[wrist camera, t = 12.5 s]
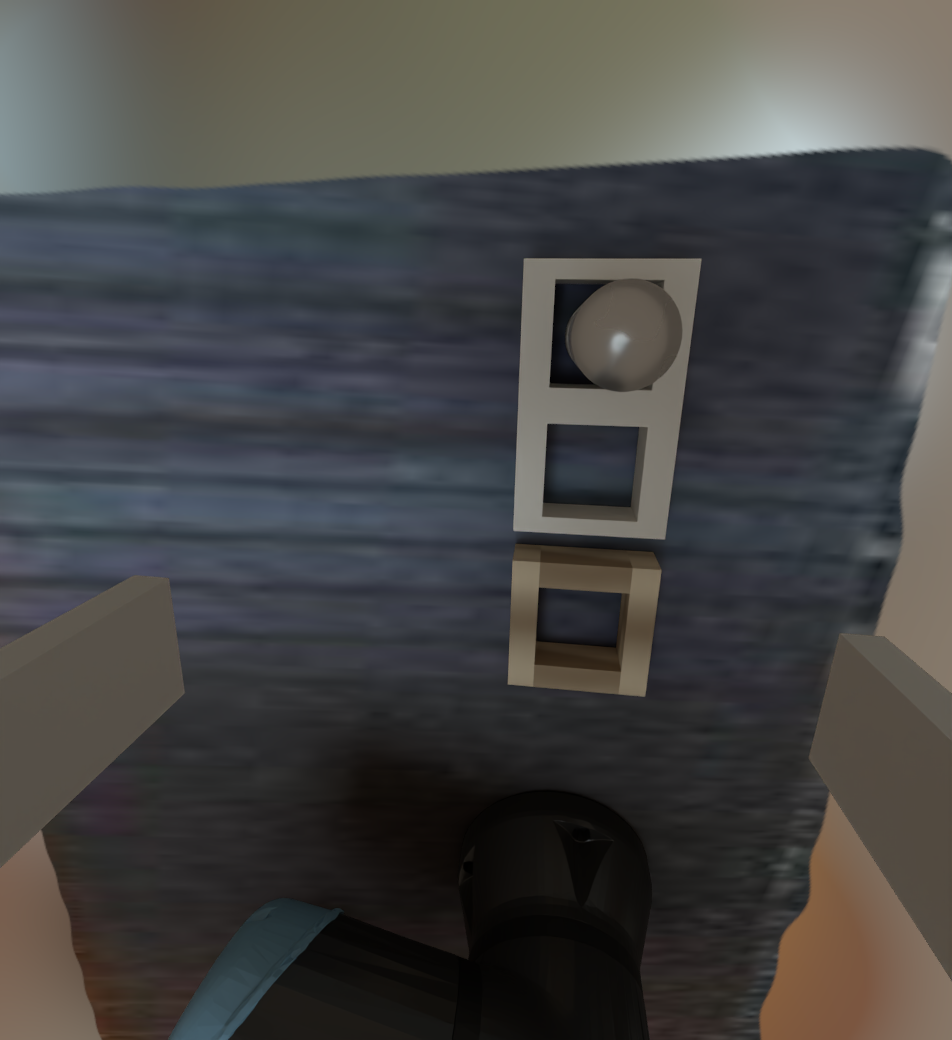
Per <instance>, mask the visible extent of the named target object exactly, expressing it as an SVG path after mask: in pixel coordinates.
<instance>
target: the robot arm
mask: <svg viewBox="0 0 952 1040" xmlns="http://www.w3.org/2000/svg"><path fill="white" fill-rule="evenodd" d="M184 693H185V692H184V685H183V677H182V670H181V663H180V656H179V648H178V641H177V634H176V627H175V620H174V612H173V605H172V598H171V591H170V583H169V578H161V577H149V576H137V575H134V576H132V577H130V578H129V579H127V580H125V581H123V582H121V583H120V584H118V585H116V586H114V587H112V588H110V589H109V590H107V591H105V592H103V593H101V594H99V595H98V596H96V597H94V598H92V599H90V600H88V601H87V602H85V603H83V604H81V605H79V606H77V607H76V608H74V609H72V610H70V611H68V612H66V613H65V614H63V615H61V616H59V617H57V618H55V619H54V620H52V621H50V622H48V623H46V624H44V625H43V626H41V627H39V628H37V629H35V630H33V631H32V632H30V633H28V634H26V635H24V636H22V637H21V638H19V639H17V640H15V641H13V642H12V643H10V644H8V645H6V646H4V647H2V648H1V649H0V868H1V867H2V866H3V865H4V864H5V863H6V862H7V861H8V860H9V859H10V858H11V857H12V856H13V855H14V854H16V852H17V851H19V850H20V849H21V848H22V847H23V845H25V844H26V843H27V842H28V841H29V840H30V839H31V838H32V837H33V836H34V835H36V834H37V833H38V832H39V831H40V830H41V829H42V828H43V827H44V826H45V825H46V824H47V823H48V822H49V821H50V820H51V819H52V818H54V817H55V816H56V815H57V814H58V813H59V812H60V811H61V810H62V809H63V808H64V807H65V806H66V805H67V804H68V803H69V802H70V801H71V800H72V799H74V798H75V797H76V796H77V795H78V794H79V793H80V792H81V791H82V790H83V789H84V788H85V787H86V786H87V785H88V784H89V783H90V782H91V781H93V780H94V779H95V778H96V777H97V776H98V775H99V774H100V773H101V772H102V771H103V770H104V769H105V768H106V767H107V766H108V765H109V764H110V763H112V762H113V761H114V760H115V759H116V758H117V757H118V756H119V755H120V754H121V753H122V752H123V751H124V750H125V749H126V748H127V747H128V746H129V745H131V744H132V743H133V742H134V741H135V740H136V739H137V738H138V737H139V736H140V735H141V734H142V733H143V732H144V731H145V730H146V729H147V728H148V727H150V726H151V725H152V724H153V723H154V722H155V721H156V720H157V719H158V718H159V717H160V716H161V715H162V714H163V713H164V712H165V711H166V710H167V709H169V708H170V707H171V706H172V705H173V704H174V703H175V702H176V701H177V700H178V699H179V698H180V697H181V696H182V695H183V694H184ZM809 760H810V761H811V763H812V764H813V766H814V767H815V769H816V770H817V772H818V774H819V775H820V777H821V778H822V780H823V781H824V783H825V784H826V786H827V788H828V789H829V791H830V792H831V794H832V795H833V797H834V798H835V800H836V801H837V803H838V805H839V806H840V808H841V809H842V811H843V812H844V814H845V815H846V817H847V819H848V820H849V822H850V823H851V825H852V826H853V828H854V830H855V831H856V833H857V834H858V836H859V837H860V839H861V840H862V842H863V844H864V845H865V847H866V848H867V850H868V851H869V853H870V854H871V856H872V858H873V859H874V861H875V862H876V864H877V865H878V867H879V868H880V870H881V872H882V873H883V875H884V876H885V878H886V879H887V881H888V882H889V884H890V886H891V887H892V889H893V890H894V892H895V893H896V895H897V896H898V898H899V900H900V901H901V902H902V904H903V906H904V907H905V909H906V910H907V912H908V914H909V915H910V917H911V918H912V920H913V921H914V923H915V924H916V926H917V928H918V929H919V930H920V932H921V934H922V935H923V937H924V938H925V940H926V942H927V943H928V945H929V946H930V948H931V949H932V951H933V953H934V954H935V956H936V957H937V959H938V960H939V962H940V963H941V965H942V967H943V968H944V970H945V971H946V973H947V974H948V976H949V977H950V979H951V980H952V693H950V692H949V691H948V690H947V689H946V688H944V687H943V686H942V685H941V684H940V683H939V682H937V681H936V680H935V679H934V678H933V677H931V676H930V675H929V674H928V673H927V672H925V671H924V670H923V669H922V668H920V666H918V665H917V664H916V663H915V662H914V661H913V660H911V659H910V658H909V657H908V656H906V655H905V654H904V653H903V652H902V651H901V650H899V649H898V648H897V647H896V646H895V645H894V644H892V643H891V642H890V641H889V640H888V639H887V638H885V637H882V636H869V635H857V634H845V633H840V634H839V638H838V642H837V646H836V650H835V654H834V658H833V662H832V667H831V671H830V675H829V679H828V683H827V687H826V691H825V695H824V699H823V703H822V707H821V711H820V715H819V719H818V723H817V727H816V731H815V735H814V739H813V743H812V747H811V751H810V755H809ZM458 886H459V892H460V898H461V904H462V910H463V916H464V923H465V929H466V935H467V941H468V947H469V959H468V960H467V959H464V958H462V957H459V956H457V955H455V954H452V953H449V952H446V951H443V950H440V949H437V948H434V947H431V946H428V945H425V944H422V943H419V942H416V941H414V940H411V939H408V938H405V937H403V936H400V935H397V934H394V933H392V932H389V931H386V930H384V929H381V928H378V927H375V926H373V925H370V924H367V923H365V922H362V921H359V920H356V919H354V918H351V917H348V916H346V915H344V910H341V909H339V908H335V909H333V910H329V909H326V908H322V907H319V906H315V905H312V904H308V903H305V902H301V901H298V900H294V899H290V898H280V899H275V900H272V901H270V902H268V903H266V904H265V905H263V906H262V907H260V908H259V909H258V910H257V911H255V912H254V913H253V914H252V915H251V916H250V917H249V918H248V919H247V920H246V921H245V922H244V924H243V925H242V926H241V927H240V929H239V930H238V931H237V932H236V934H235V935H234V936H233V937H232V939H231V940H230V941H229V943H228V944H227V946H226V947H225V948H224V950H223V951H222V953H221V954H220V956H219V957H218V958H217V960H216V961H215V963H214V964H213V966H212V967H211V969H210V970H209V972H208V974H207V975H206V977H205V978H204V980H203V981H202V983H201V984H200V986H199V988H198V989H197V991H196V992H195V994H194V996H193V997H192V999H191V1001H190V1002H189V1004H188V1006H187V1007H186V1009H185V1011H184V1012H183V1014H182V1016H181V1018H180V1019H179V1021H178V1023H177V1024H176V1026H175V1028H174V1030H173V1031H172V1033H171V1035H170V1037H169V1039H168V1040H650V1038H649V1031H648V1024H647V1017H646V1010H645V1004H644V999H643V991H642V984H641V976H640V965H641V960H642V954H643V948H644V942H645V937H646V931H647V925H648V919H649V914H650V908H651V901H652V886H651V879H650V873H649V868H648V862H647V857H646V853H645V850H644V848H643V846H642V844H641V842H640V840H639V838H638V837H637V835H636V834H635V832H634V831H633V830H632V829H631V828H630V826H629V825H628V824H627V823H626V822H625V821H624V820H622V819H621V818H620V817H619V816H618V815H616V814H615V813H613V812H612V811H610V810H609V809H607V808H605V807H604V806H602V805H600V804H598V803H596V802H593V801H591V800H588V799H585V798H582V797H579V796H575V795H571V794H566V793H559V792H531V793H524V794H519V795H515V796H512V797H509V798H506V799H503V800H501V801H499V802H497V803H495V804H493V805H492V806H490V807H489V808H487V809H486V810H484V811H483V812H482V813H481V814H480V815H479V816H478V817H477V818H476V819H475V820H474V821H473V823H472V824H471V825H470V827H469V829H468V830H467V832H466V835H465V837H464V840H463V844H462V850H461V856H460V861H459V868H458Z"/></svg>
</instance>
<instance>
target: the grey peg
mask: <svg viewBox="0 0 952 1040" xmlns="http://www.w3.org/2000/svg"><path fill="white" fill-rule="evenodd" d="M682 331H683V330H682V320H681V316H680V313H679V310H678V308H677V306H676V304H675V302H674V301H673V299H672V298H671V296H670V295H669V294H668V293H667V292H666V291H665V290H663V289H662V288H661V287H659V286H658V285H656V284H654V283H652V282H649V281H646V280H642V279H633V278H630V279H621V280H617V281H614V282H611V283H608V284H606V285H604V286H603V287H601V288H600V289H598V290H597V291H595V292H594V293H593V294H592V295H591V296H590V297H589V298H588V299H587V300H586V301H585V302H584V303H583V304H582V305H581V306H580V307H579V308H578V309H577V310H576V311H575V312H574V313H573V314H572V316H571V317H570V319H569V321H568V323H567V326H566V329H565V346H566V350H567V352H568V354H569V356H570V357H571V359H572V360H573V361H574V363H575V364H576V365H577V366H578V368H579V369H580V370H581V371H582V373H583V374H584V375H585V376H586V377H587V378H588V379H589V380H590V381H592V382H593V383H594V384H596V385H598V386H599V387H601V388H604V389H607V390H611V391H616V392H629V391H635V390H639V389H642V388H644V387H646V386H649V385H650V384H652V383H654V382H655V381H657V380H658V379H659V378H661V377H662V376H663V375H664V374H665V373H666V372H667V370H668V369H669V368H670V367H671V365H672V364H673V362H674V360H675V359H676V356H677V354H678V352H679V349H680V346H681V341H682Z"/></svg>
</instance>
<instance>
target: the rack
mask: <svg viewBox="0 0 952 1040" xmlns="http://www.w3.org/2000/svg"><path fill="white" fill-rule="evenodd" d="M701 260H702V259H561V258H524V270H523V295H522V321H521V346H520V372H519V397H518V423H517V448H516V474H515V499H514V525H513V531H525V532H542V533H559V534H577V535H594V536H611V537H629V538H646V539H664V540H665V535H666V528H667V520H668V512H669V505H670V497H671V489H672V482H673V474H674V466H675V459H676V451H677V443H678V436H679V428H680V420H681V413H682V405H683V397H684V390H685V382H686V374H687V367H688V359H689V351H690V344H691V336H692V328H693V321H694V313H695V305H696V298H697V290H698V283H699V275H700V267H701ZM630 278H633V279H642V280H646V281H649V282H652V283H654V284H656V285H658V286H659V287H661V288H662V289H663V290H665V291H666V292H667V293H668V294H669V295H670V296H671V298H672V299H673V301H674V302H675V304H676V306H677V308H678V310H679V313H680V316H681V320H682V330H683V331H682V341H681V346H680V349H679V352H678V354H677V356H676V359H675V360H674V362H673V364H672V365H671V367H670V368H669V369H668V370H667V372H666V373H665V374H664V375H663V376H662V377H661V378H659V379H658V380H657V381H655V382H654V383H652V384H650V385H649V386H646V387H644V388H642V389H639V390H635V391H629V392H616V391H611V390H607V389H604V388H601V387H599V386H598V385H593V384H555V383H550V366H551V348H552V331H553V313H554V295H555V284H608V283H611V282H614V281H617V280H621V279H630ZM547 424H573V425H602V426H630V427H639V434H638V444H637V453H636V462H635V472H634V481H633V490H632V499H631V507H616V506H596V505H577V504H557V503H543V491H544V473H545V456H546V438H547Z"/></svg>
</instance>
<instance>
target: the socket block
mask: <svg viewBox="0 0 952 1040" xmlns="http://www.w3.org/2000/svg"><path fill="white" fill-rule="evenodd" d="M661 571H662V570H661V568H660V566H659V563H658V561H657V559H656V557H655V555H654V553H653V552H645V551H628V550H612V549H595V548H578V547H562V546H545V545H529V544H515V550H514V556H513V566H512V591H511V616H510V641H509V667H508V684H509V685H520V686H531V687H542V688H553V689H565V690H576V691H587V692H598V693H609V694H621V695H632V696H643V697H645V693H646V686H647V678H648V670H649V663H650V655H651V647H652V640H653V632H654V624H655V617H656V609H657V602H658V594H659V586H660V579H661ZM539 587H540V588H555V589H569V590H584V591H598V592H613V593H622V597H621V607H620V616H619V625H618V634H617V644H616V648H614V647H601V646H589V645H576V644H564V643H551V642H539V641H536V627H537V609H538V591H539Z"/></svg>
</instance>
